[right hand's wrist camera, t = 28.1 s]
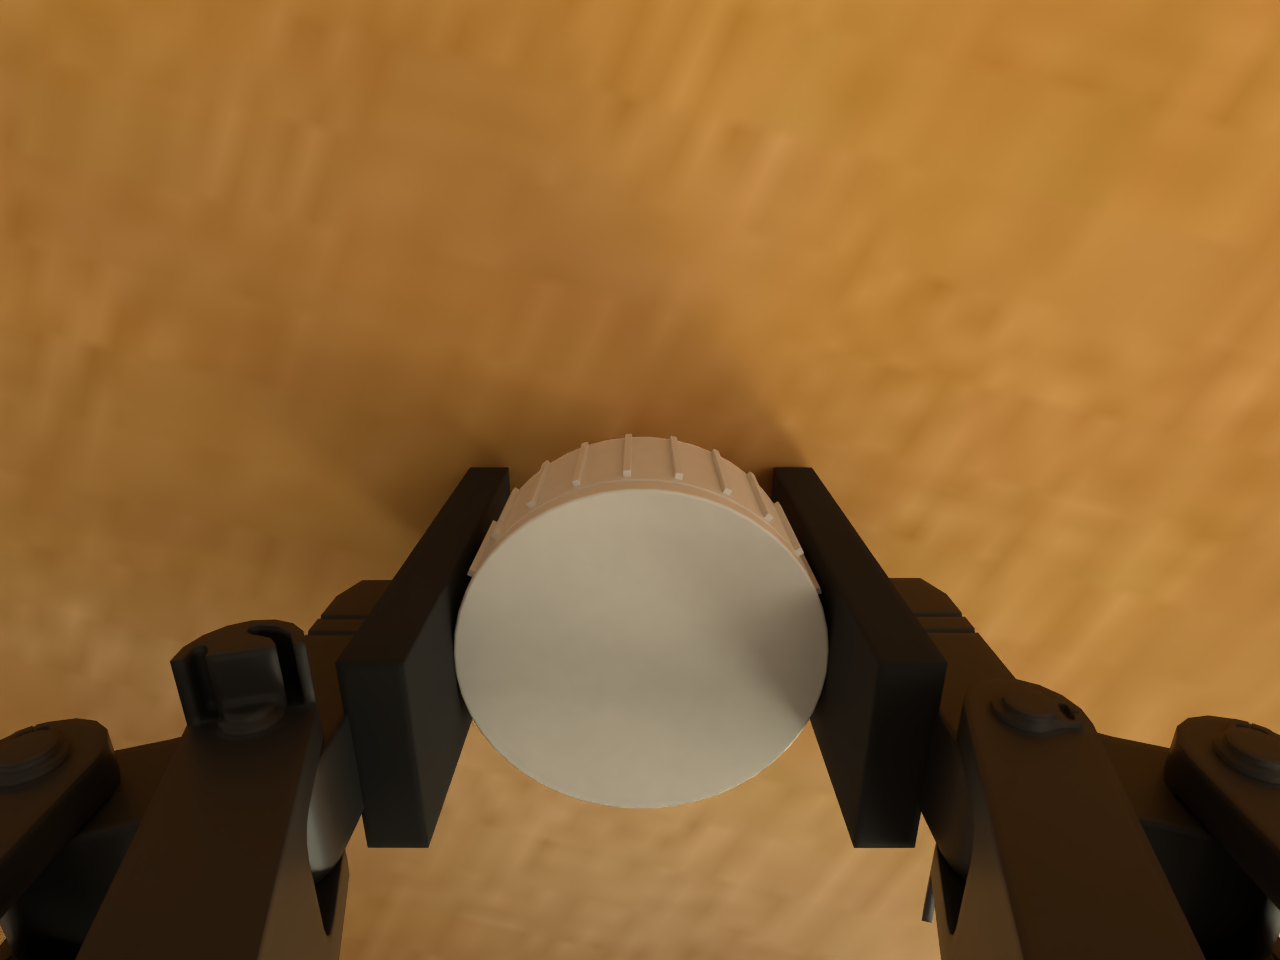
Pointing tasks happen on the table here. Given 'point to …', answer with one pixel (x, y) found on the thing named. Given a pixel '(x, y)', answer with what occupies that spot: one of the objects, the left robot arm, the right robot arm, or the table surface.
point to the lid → (641, 626)
